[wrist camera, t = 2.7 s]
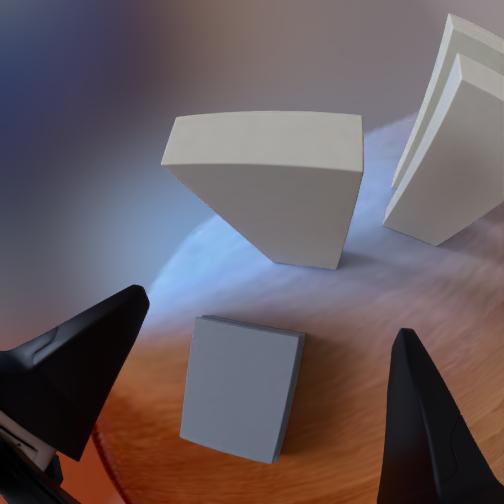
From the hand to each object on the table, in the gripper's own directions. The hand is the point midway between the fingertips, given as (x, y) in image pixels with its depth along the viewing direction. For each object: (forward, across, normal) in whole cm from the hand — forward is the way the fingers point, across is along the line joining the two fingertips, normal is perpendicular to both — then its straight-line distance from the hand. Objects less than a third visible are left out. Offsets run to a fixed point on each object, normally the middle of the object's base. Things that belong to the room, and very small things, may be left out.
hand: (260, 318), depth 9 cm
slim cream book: (+12, 0, +6) cm, 13 cm away
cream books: (+16, -9, +2) cm, 18 cm away
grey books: (+4, +3, +14) cm, 15 cm away
